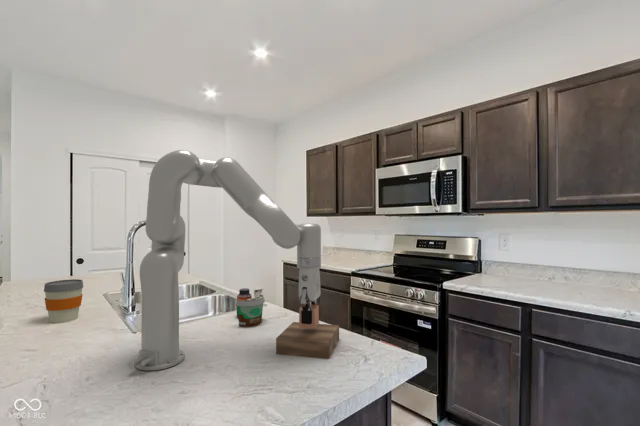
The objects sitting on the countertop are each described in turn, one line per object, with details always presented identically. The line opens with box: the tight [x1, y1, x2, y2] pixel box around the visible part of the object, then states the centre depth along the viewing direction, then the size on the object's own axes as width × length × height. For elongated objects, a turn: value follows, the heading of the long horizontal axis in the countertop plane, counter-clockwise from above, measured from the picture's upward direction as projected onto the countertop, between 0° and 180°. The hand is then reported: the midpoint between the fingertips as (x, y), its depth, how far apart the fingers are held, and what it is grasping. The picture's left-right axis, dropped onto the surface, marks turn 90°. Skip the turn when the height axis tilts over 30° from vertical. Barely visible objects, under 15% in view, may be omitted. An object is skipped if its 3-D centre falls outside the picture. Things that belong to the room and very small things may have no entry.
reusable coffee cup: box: [43, 278, 84, 324], centre depth 132 cm, size 13×13×15 cm
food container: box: [235, 294, 266, 328], centre depth 125 cm, size 12×6×10 cm, turn 143°
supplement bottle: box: [236, 287, 253, 318], centre depth 135 cm, size 6×6×11 cm
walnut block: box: [275, 321, 340, 360], centre depth 104 cm, size 16×16×5 cm
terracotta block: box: [298, 304, 320, 329], centre depth 104 cm, size 5×5×6 cm
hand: (309, 320), depth 104 cm, fingers closed on terracotta block, 5 cm apart
